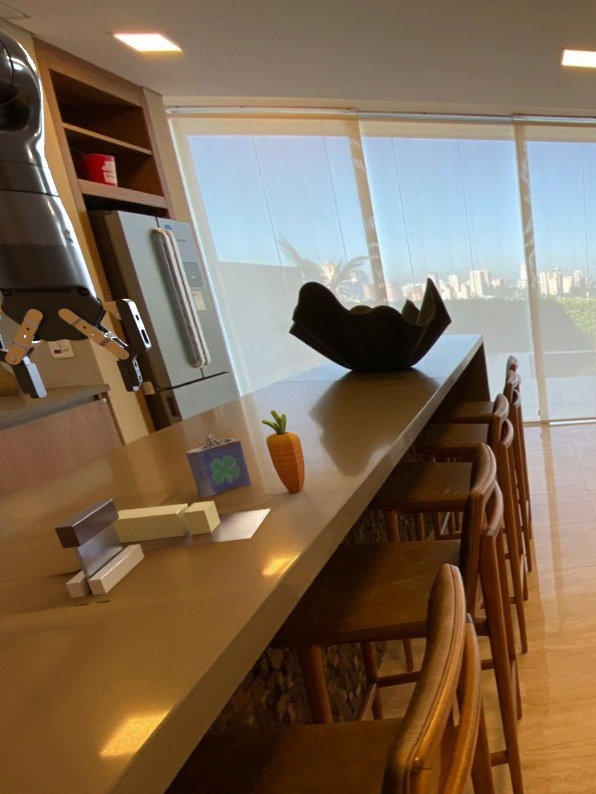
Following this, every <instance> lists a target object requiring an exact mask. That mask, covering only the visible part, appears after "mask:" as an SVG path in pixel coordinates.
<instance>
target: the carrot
mask: <svg viewBox="0 0 596 794" xmlns="http://www.w3.org/2000/svg"><path fill="white" fill-rule="evenodd" d="M270 414H271V416H272V418H273V419H274V422H272V421H270V420H267V419H263V420H261V424H262V425H263V424H264V425H267V426H269V427H270V428H271V429H273V431H274V432H275V433H272V434H269V435H267V437H266V439H265V442H266V446H267V450H268V452H269V456H270V460H271V463H272V465H273V467H274V470H275V472H276V474H277V476H278V478H279V480H280V482H281V483H282V484H283V486H284V488H285V489H286V490H287V491H288V492H289V494H297V493H298V494H299V493H300V492H302V491H303V489H304V486H305V485H304V484H305V475H306V474H305V473H306V471H305V458H304V453H303V448H302V443H301V439H300V438H299V436H298V435H297V434H296V433H295V432H292V431H286V429H287V415H286V414H285V413H281V415H279V413H278V412H277V410H273V409H272V410H271V411H270Z"/></svg>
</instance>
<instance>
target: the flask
mask: <svg viewBox="0 0 596 794" xmlns="http://www.w3.org/2000/svg"><path fill="white" fill-rule="evenodd" d="M201 438H202V439H205V442H204V444H206V445H203V446H199V447H197V448H196V447H195V448H193V449H190V450H188V451H186V452H185V455H186V458H187V460H188V464H189V467H190V471H191V474H192V478H193V480H194V483H195V487H196V490H197V494H198V498H209V497H213V496H215V495H218V494H220V493H222V492H225V491H227V490H230V489H233V488H234V489H235V488H242V487H243V488H245V487H252V486H253V485H252V481H251V478H250V473H249V469H248V464H247V461H246V458H245V453H244V449H243V447H242V446H243V445H242V441H241V440H240V439H239V438H221V439H215V436H214V435H213V434H210V433H207V434H205V435H203V436H201Z"/></svg>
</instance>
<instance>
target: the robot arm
mask: <svg viewBox="0 0 596 794" xmlns="http://www.w3.org/2000/svg"><path fill="white" fill-rule="evenodd" d="M44 113H45V112H44V94H43V85H42V81H41V78H40V75H39V72H38V70H37V68H36V66H35V64H34V62H33V60H32V59H31V57H30V56H29V54H28V53H27V51H26V50H25V49H24V48H23V46H22V45H21V44H20V43H19V42H18V40H16V39H15V37H13V36H11V35H10V34H9V33H8V32H6V31H5V30H3V29H2V28H0V293H1V302H0V322H2V315H3V314H4V315H5V316H7V317H8V318H9V319H11V320H12V321H13V322H14V323H16V324H17V325H19V327H18V329H17V332H16V333H15V335H14V337H13V339H12V341H11V342H12V344H11V346H10V347H9V349H7V348H5V344H4V341H3V338H2V335H1V334H0V362H3V363H5V364H7V365H9V367H10V368H11V370H12V371H13V374H14V377H15V379H16V381H17V384H18V387H19V389H20V391H22V392H23V393H24V394H25V395H29V397H30V398H31V399H33V400H34V399H35V400H36V399H43V398H47V396H48V395H47V394H48V393H47V389H46V388H45V385H44V383H43V380H42V378H41V376H40V372H39V370H38V367H37V365H36V363H34V362H33V363H32V362H31V359H32V357H33V355H34V354H35V352H36V350H37V349H38V347H39V346H41V344H42V342H43V341H45V342H46V343H48V342H49V343H50V342H60V341H63V340H64V341H65V340H67V341H71V342H76V341H78V342H79V341H80V342H81V341H87V340H89V339H90V340H91V341H93V342H94V343H96V344H97V345H99V346H101V347H103V348H104V349H106V350H107V351H108V352H109V353H111V354H112V355H113V356H115V357H116V358H118V360H116V361H115V362H116V366H117V367H118V370H119V373H120V376H121V379H122V382H123V385H124V388H125V390H126V392H127V393H132V392H133V393H134V392H137V391H139V389H140V386H142V385H143V381H144V380H143V377H142V373H141V371H140V368H139V365H138V361H137V357H138V356H139V355H142V354H144V353H147V352H150V351H151V350H152V348H153V346H152V344H151V341H150V339H149V335H148V334H147V333H148V332H147V331H146V328H145V325H144V323H143V320H142V318H141V316H140V313H139V310H138V308H137V305H136V303H135V301H133V300H132V299H129V298H122V299H117V300H113V301H103V300H101V298H99V296H98V295H97V293H96V291H95V288H94V285H93V281H92V278H91V276H90V273H89V270H88V266H87V264H86V261H85V258H84V256H83V252H82V249H81V247H80V243H79V240H78V237H77V236H76V232H75V229H74V226H73V223H72V221H71V219H70V216H69V215H68V213H67V210H66V208H65V207H64V204H63V203H62V200H61V198H60V195H59V191H58V189H57V186H56V183H55V181H54V178H53V177H54V176H53V174H52V172H51V168H50V166H49V162H48V159H47V157H46V151H45V149H46V148H45V142H46V141H45V139H46V138H45V117H44V115H45V114H44ZM107 312H109V313H111V315H112V316H113V318H114V319H116V320H118V321H121V322H122V325H123V326H124V329H125V332H126V334H127V336H128V339H129V341H130V344H126V343H125V341H122V340H121V339H120V338H119V337H118V336H117V335H116V333H114V332H113V331H111V330H110V329H109V328H107V327H106V326H104V325H103V324H102V321H103V319H104V318H105V316H106V313H107Z"/></svg>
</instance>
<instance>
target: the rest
mask: <svg viewBox="0 0 596 794" xmlns="http://www.w3.org/2000/svg"><path fill="white" fill-rule="evenodd" d="M144 558H145V555H144V551H143V552H142V549H141V546H140V544H137V545H129V546H128V547H127V548H125V549H124V550H123V551H122V552H121V553H120V554H118V555H117V556H116V557H115V558H114V559H113V560H111V561H110V562H109V563H108V564H107V565H106V566H104V567H103V568H102V569H101V570H100V571H99V572H97V573H96V574H95V575H94V576H93V577H92V578H91V579H89V580H88V582H87V580H86V577H85V575H84V573H83V570H82V569H81V571H79V572H78V573H77V574H76V575H75V576H73V577H72V578H70V579H69V580H68V581H67V582H65V585H66V586H65V587H66V589H67V590H68V593H69V595H70V598H71V599H74V598H75V599H76V598H82V597H86V596H87V595H88V594H89V593H90V592H91V590H92V592H91V593H92V595H93V596H96V595H106V594H107V593H108V592H110V591H111V590H112V589H113V588H114V586H116V585H117V584H118V583H119V582H121V580H122V579H124V578H125V576H127V574H128V573H129V572H130V571H132V570H133V569H134V568H135V567H136V566H137V565H138V564H139V563H140V562H141V561H142V560H143V559H144ZM88 583H89V585H90V587H89V585H88ZM90 588H91V589H90ZM111 601H112V600H111V599H108V600H101V601H96V604H103V603H110V602H111ZM90 604H91V602H86V603H79V604H75V605H74V607H83V606H89V605H90Z"/></svg>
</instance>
